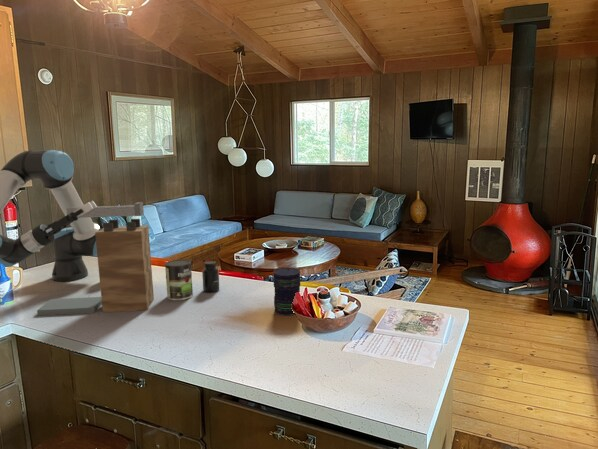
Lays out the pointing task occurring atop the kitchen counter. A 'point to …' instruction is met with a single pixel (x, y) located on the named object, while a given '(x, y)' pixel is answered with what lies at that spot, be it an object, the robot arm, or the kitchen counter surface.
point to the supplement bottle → (210, 277)
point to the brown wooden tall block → (124, 266)
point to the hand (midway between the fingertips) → (92, 204)
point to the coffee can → (179, 279)
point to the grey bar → (112, 211)
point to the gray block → (70, 306)
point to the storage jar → (285, 289)
